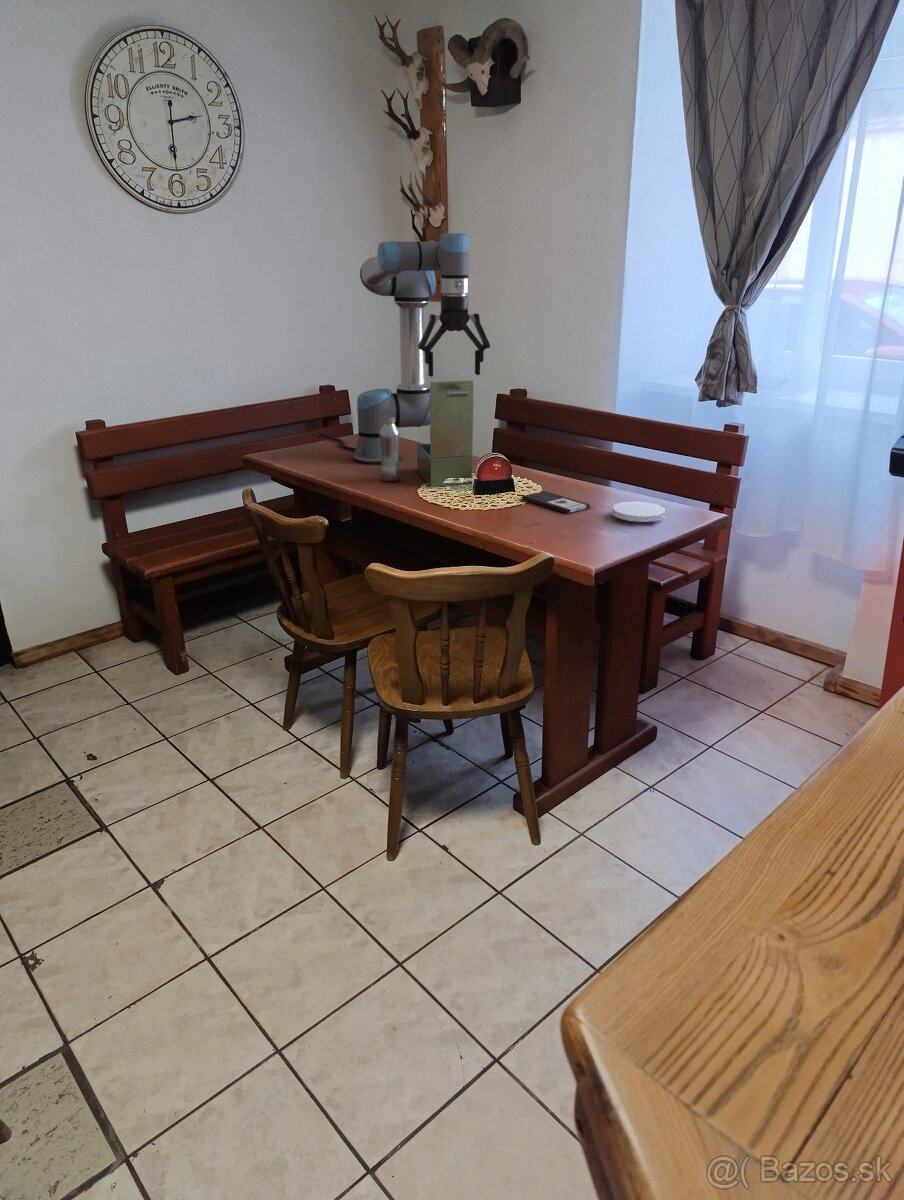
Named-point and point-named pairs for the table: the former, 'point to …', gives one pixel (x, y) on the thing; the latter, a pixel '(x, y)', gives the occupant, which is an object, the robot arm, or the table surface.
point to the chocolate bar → (555, 502)
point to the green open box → (442, 467)
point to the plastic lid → (638, 511)
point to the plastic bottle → (390, 449)
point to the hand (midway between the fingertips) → (454, 375)
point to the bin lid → (451, 418)
